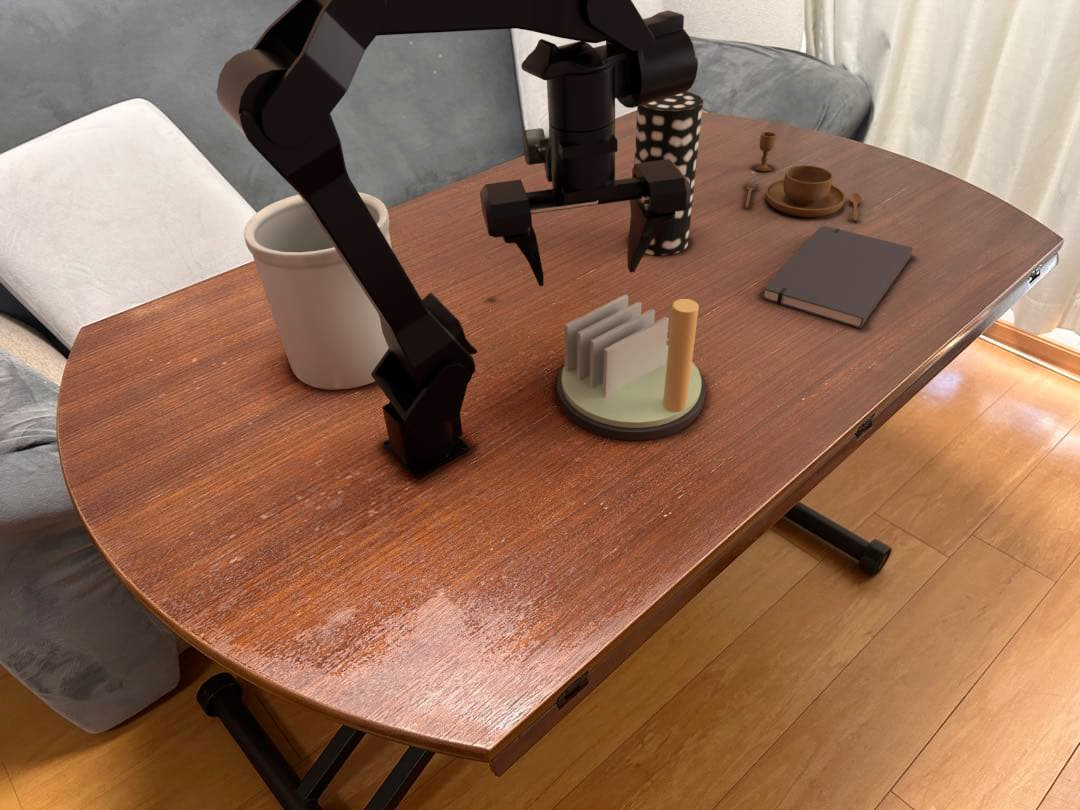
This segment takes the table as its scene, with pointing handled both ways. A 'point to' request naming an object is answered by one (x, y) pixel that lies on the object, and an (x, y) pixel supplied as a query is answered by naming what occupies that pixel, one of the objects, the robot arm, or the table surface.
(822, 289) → the notebook
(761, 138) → the place setting
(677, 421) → the turntable base
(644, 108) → the white-spotted black cylinder
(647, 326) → the dish rack
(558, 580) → the table surface
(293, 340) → the utensil holder
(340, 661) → the table surface
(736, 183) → the table surface
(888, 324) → the table surface
